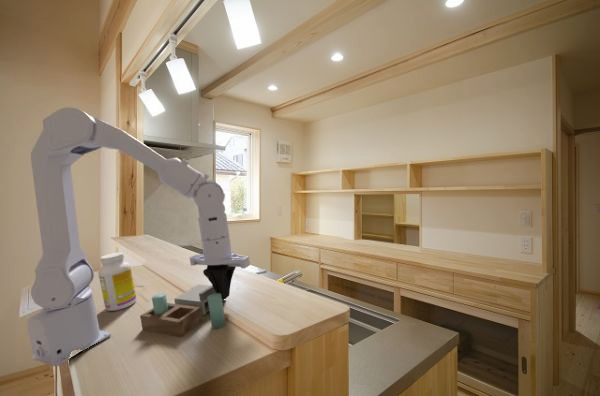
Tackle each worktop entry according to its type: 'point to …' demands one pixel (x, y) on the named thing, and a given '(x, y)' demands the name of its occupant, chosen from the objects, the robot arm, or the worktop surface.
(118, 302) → the supplement bottle
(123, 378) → the worktop surface
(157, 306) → the pin seated
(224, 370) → the worktop surface
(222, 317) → the pin loose
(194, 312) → the socket strip
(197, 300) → the housing
